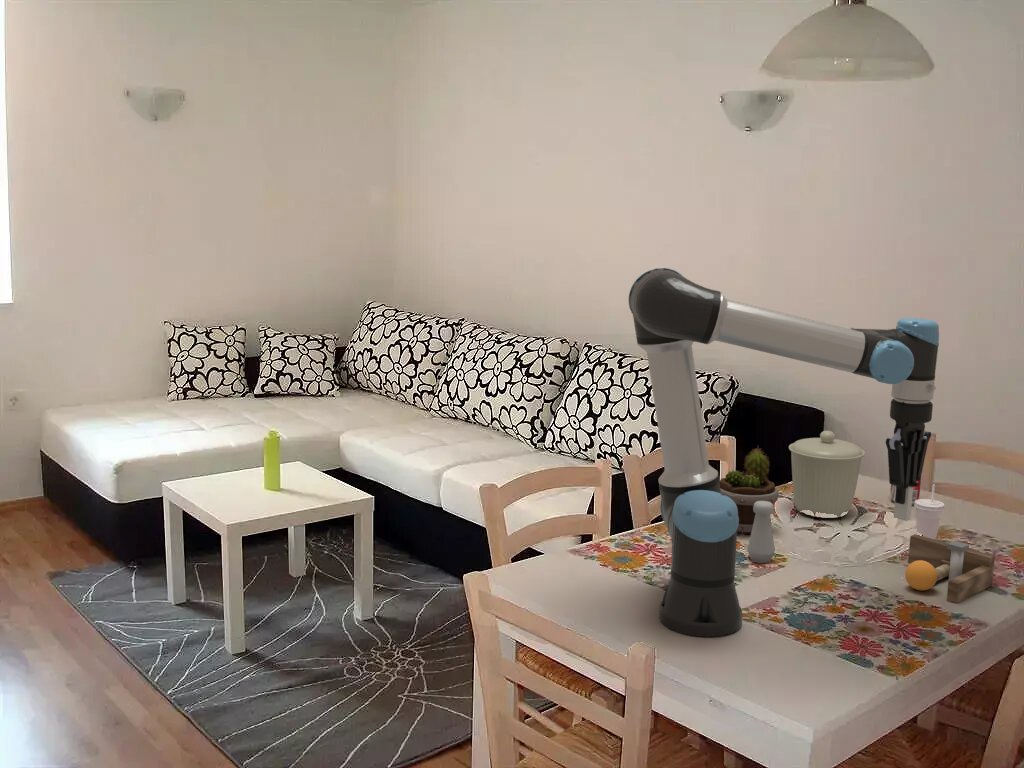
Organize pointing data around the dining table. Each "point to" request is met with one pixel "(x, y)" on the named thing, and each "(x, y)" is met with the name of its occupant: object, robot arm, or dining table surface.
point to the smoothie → (928, 515)
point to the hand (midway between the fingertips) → (901, 518)
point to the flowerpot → (749, 489)
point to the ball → (921, 575)
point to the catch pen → (973, 572)
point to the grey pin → (956, 558)
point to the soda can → (914, 497)
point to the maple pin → (943, 569)
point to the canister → (825, 473)
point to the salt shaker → (762, 533)
